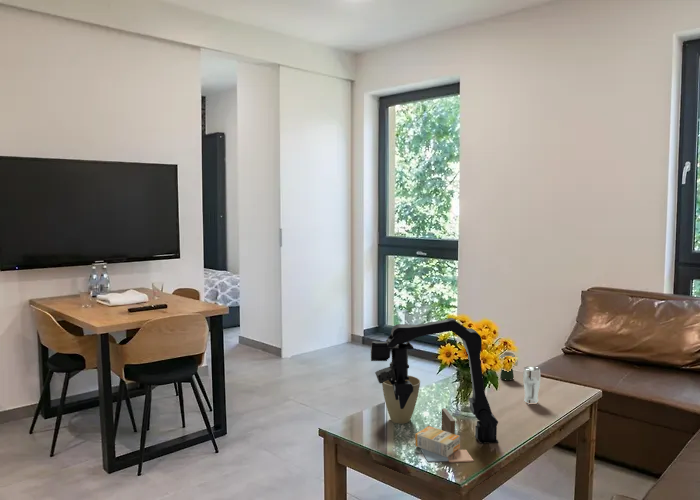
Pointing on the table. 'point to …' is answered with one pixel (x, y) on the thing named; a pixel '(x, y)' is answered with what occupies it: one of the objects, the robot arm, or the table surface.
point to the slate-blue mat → (434, 456)
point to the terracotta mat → (460, 456)
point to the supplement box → (437, 441)
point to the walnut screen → (447, 422)
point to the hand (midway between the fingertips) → (399, 404)
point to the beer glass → (531, 383)
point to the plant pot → (393, 404)
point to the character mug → (509, 374)
